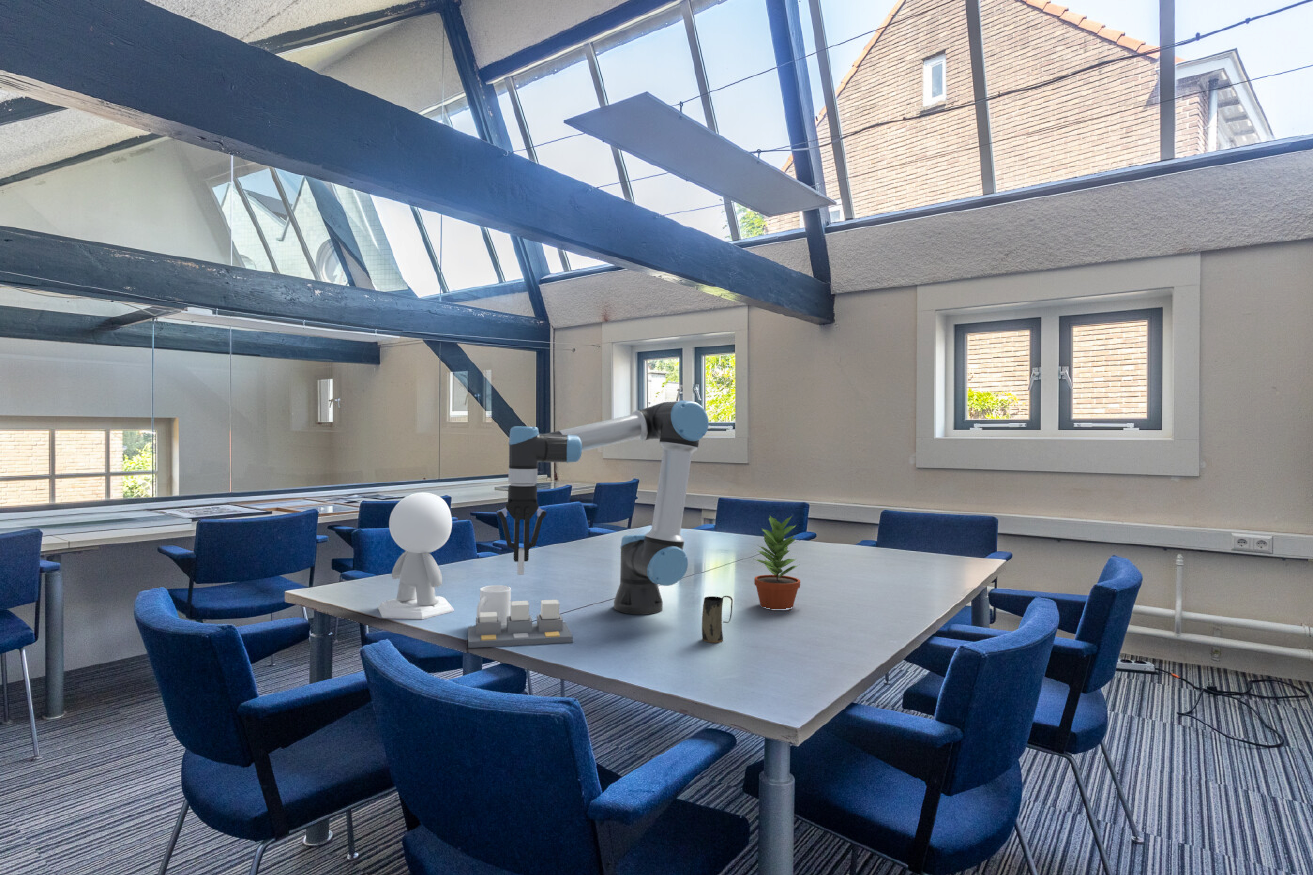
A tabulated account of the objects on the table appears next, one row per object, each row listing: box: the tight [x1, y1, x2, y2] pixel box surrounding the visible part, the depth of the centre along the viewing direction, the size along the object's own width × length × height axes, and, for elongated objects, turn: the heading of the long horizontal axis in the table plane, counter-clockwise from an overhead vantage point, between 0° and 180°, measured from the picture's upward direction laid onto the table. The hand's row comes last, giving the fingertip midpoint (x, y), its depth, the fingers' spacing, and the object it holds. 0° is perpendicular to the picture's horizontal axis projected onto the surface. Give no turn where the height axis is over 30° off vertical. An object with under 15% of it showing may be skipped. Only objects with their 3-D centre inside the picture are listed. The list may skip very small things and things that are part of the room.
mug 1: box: [476, 585, 512, 625], centre depth 190 cm, size 12×8×10 cm
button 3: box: [479, 612, 497, 623], centre depth 181 cm, size 4×4×4 cm
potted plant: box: [753, 514, 801, 609], centre depth 221 cm, size 15×15×30 cm
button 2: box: [510, 600, 530, 621], centre depth 183 cm, size 4×4×4 cm
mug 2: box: [701, 595, 734, 644], centre depth 183 cm, size 8×6×12 cm
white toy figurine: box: [377, 491, 455, 620], centre depth 206 cm, size 20×23×35 cm
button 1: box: [540, 599, 560, 619], centre depth 185 cm, size 4×4×4 cm
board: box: [467, 613, 574, 649], centre depth 181 cm, size 26×14×4 cm, turn 105°
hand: (520, 573), depth 183 cm, fingers closed
